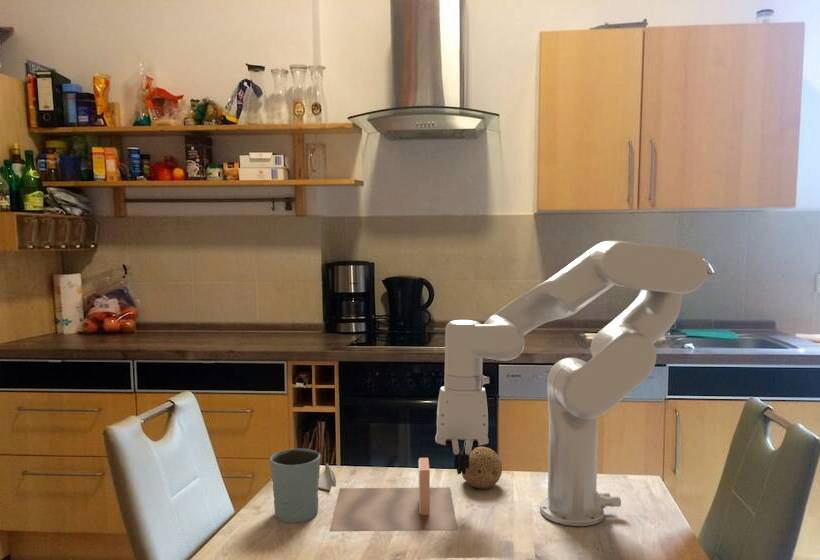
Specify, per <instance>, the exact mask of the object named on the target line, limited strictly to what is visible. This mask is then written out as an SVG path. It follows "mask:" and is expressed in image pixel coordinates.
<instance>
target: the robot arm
mask: <svg viewBox="0 0 820 560" xmlns="http://www.w3.org/2000/svg"><path fill="white" fill-rule="evenodd" d="M707 276H708V266H707V263H706V261H705V260H704V257H702V256H701V255H700V253H698V252H696V251H694V250H692V249H689V248H684V247H682V248H681V247H675V246H674V247H673V246H664V245H652V244H645V243H640V242H639V243H638V242H632V241H625V240H604V241H601V242H599V243H597V244H595V245H594V246H593V247H591V248H590V249H588V250H587V251H585V252H584V253H583V254H582V255H579V256H578V257H577V258H576V259H574V260H573V261H572V262H570V263H569V264H568V265H566V266H565V267H564V268H562V269H561V270H559V271H558V272H556V273H555V274H553V275H552V276H551V277H549V278H547V280H545V281H543V282H542V283H539V284H538V285H537V286H535V287H533V288H532V289H530V290H529V291H527V292H525V293H523V294H521V295H520V296H518V297H517V298H515V299H513V300H512V301H510V302H509V303H508V304H506V305H504V306H503V307H502V308H501V309H499V310H497V312H495V313H494V314H492V315H491V316H490V317H489V318H488V319H486V320H485V322H484V323H483V324H482V323H481V322H479V321H477V320H471V319H454V320H450V321H449V322H447V324H446V326H445V335H444V336H445V337H444V339H445V340H444V341H445V342H444V375H443V376H444V378H443V379H444V380H443V381H444V384H443V385H444V386H440V388H439V391H438V392H439V394H438V399H437V407H436V408H437V409H436V425H435V426H436V434H435V437H434V438H435V439H434V440H435V443H437V444H439V445H442V446H446V447H447V448H448V449H449V450H450V451H451V452H452V453H453V469H456V473H457V475H462V474H466V469H469V455H470V454H471V452H472V451H473V450H474V449H475V448H477V447H479V446H483V445H488V444H489V437H488V435H489V433H488V432H489V413H488V412H489V411H488V401H487V392H486V388H485V387H483V386H484V385H486V384H490V377H489V376H485V375H484V374H483V362H484V361H483V359H488V360H489V359H490V360H496V361H504V362H506V361H507V362H508V361H510V360H514V359H516V358H517V357H519V356H520V355H521V354H522V352H523V351H524V347H525V342H526V341H525V337H524V336H526V335H527V334H528V333H530V332H531V331H533V330H534V329H536V328H538V327H540V326H542V325H544V324H547V323H548V322H551V321H552V322H553V321H555V320H560V319H565V318H569V317H571V316H573V315H575V314H576V313H578V312H579V311H580V310H582V309H583V308H585V307H586V306H587V305H589V304H591V302H593V301H594V300H596V299H597V298H598V297H600V296H601V295H603V294H605V292H607V291H609V289H611V288H612V287H614V286H616V287H623V288H628V289H635V290H640V291H639V292H638V293H639V294H638V295H637V297H636V298H635V299H634V301H632V302H631V303H630V305H628V307H626V308H625V310H623V311H622V312H620V314H618V315H617V316H616V317H615V318H613V319H612V320H611V321H610V322H608V324H606V325H605V326H603V328H601V329H600V330H599V331H598V332H597V333H596V334H595V336H594V337H593V338H592V341H591V343H590V353H591V356H592V357H591V358H590V359H589V360H588V361H585V360H583V359H580V358H577V357H565V358H563V359H560V360H558V361H557V362H556V363H554V364H553V365H552V367H551V368H550V370H549V372H548V376H547V381H546V394H547V405H548V453H547V454H548V461H547V463H548V465H547V467H548V469H547V472H548V473H547V497H546V498H545V499H543V500H542V501H541V502H540V505H539V510H540V513H541V515H542V516H543V517H544V518H546V519H547V520H550V521H551V522H554V523H556V524H560V525H564V526H570V527H587V526H594V525H597V524H598V523H600V522H602V521H603V520H604V517H605V511H604V510H605V508H606V507H611V508H614V507H616V508H619V507H621V506H622V501H621V497H620V496H611V493H609V492H602V493H599V492H598V490H597V484H598V482H597V479H598V474H597V473H598V439H599V437H598V435H599V434H598V433H599V432H598V431H599V429H598V428H599V427H598V426H599V425H598V418H599V417H600V416H603V415H604V414H605V413H607V412H608V411H610V410H611V409H612V408H614V407H615V406H616V405H617V404H618V403H620V402H621V401H622V400H623V399H624V398H625V397H626V396H628V395H629V394H630V393H631V392H632V391H634V389H636V388H637V387H639V386H640V384H642V383H644V381H645V380H646V379H648V377H649V376H650V374H651V373H652V372H653V370H654V368H655V365H656V362H657V356H658V355H657V350H656V346H655V343H656V342H657V341H659V339H661V338H662V336H664V335H665V334H666V333H667V332H668V331H669V330H670V329H671V328H672V326H673V325H674V324H675V323H676V321H677V319H678V317H679V314H680V311H681V308H682V307H681V306H682V301H683V295H685V294H690V293H692V292H695V291H696V290H698V289H699V288H700V287H701V286H702V285H704V283H705V281H706V279H707ZM459 440H460V441H461V440H462V441H464V444H463V447H462V450H461V448H460V447H459Z"/></svg>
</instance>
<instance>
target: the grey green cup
mask: <svg viewBox="0 0 820 560" xmlns="http://www.w3.org/2000/svg"><path fill="white" fill-rule="evenodd" d="M269 461H270V462H269V463H270V471H271V481H272V483H273V484H272V491H273V498H274V499H273V506H274V507H273V508H274V516H276V517H275V518H276V519H277V520H278V521H279V520H280V521H279V522H282V523H285V522H286V524H300V523H305V522H308V521H311V520H312V519H314V518H316V517H317V515H318V512H319V511H318V510H319V495H318V493H319V490H320V489H319V488H318V480H319V477H320V473H321V472H320V471H321V470H320V468H321V467H320V466H321V453H320V452H318V451H317V450H313V449H309V448H292V449H291V448H290V449H284V450H280V451H278V452H276V453H275V452H274V454H272V455H271V456H270V458H269Z"/></svg>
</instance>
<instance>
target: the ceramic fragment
mask: <svg viewBox="0 0 820 560" xmlns="http://www.w3.org/2000/svg"><path fill="white" fill-rule="evenodd" d="M332 487H334V488H336V487H337V478H336V475H335V473H334V471H333V470H332V468H331V467H330V465H329V463H326V464H325V468H324V470H323V471H322V472H320V474H319V480H318V488H319V489H318V490H321V491H326V492H329V493H330V492H331V490H332Z"/></svg>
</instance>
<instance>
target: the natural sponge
mask: <svg viewBox="0 0 820 560" xmlns="http://www.w3.org/2000/svg"><path fill="white" fill-rule="evenodd" d="M502 473H503V463H502V459H501V458H500V456H499V454H498V453H497V452H496V451H494V449H491V448H490V447H487V446H477V447H476V448H475V449H474V450H473V451H472V452H471V454H470V455H469V469H466V474H462V473H461V477H462V478H463V480H464V481H466V483H468V484H469V485H470V486H472V487H473V488H475V489H480V490H486V489H491V488H493V487H494V486H495V485H496V484H497V483H498V482H499V480H500V478H501V476H502Z"/></svg>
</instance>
